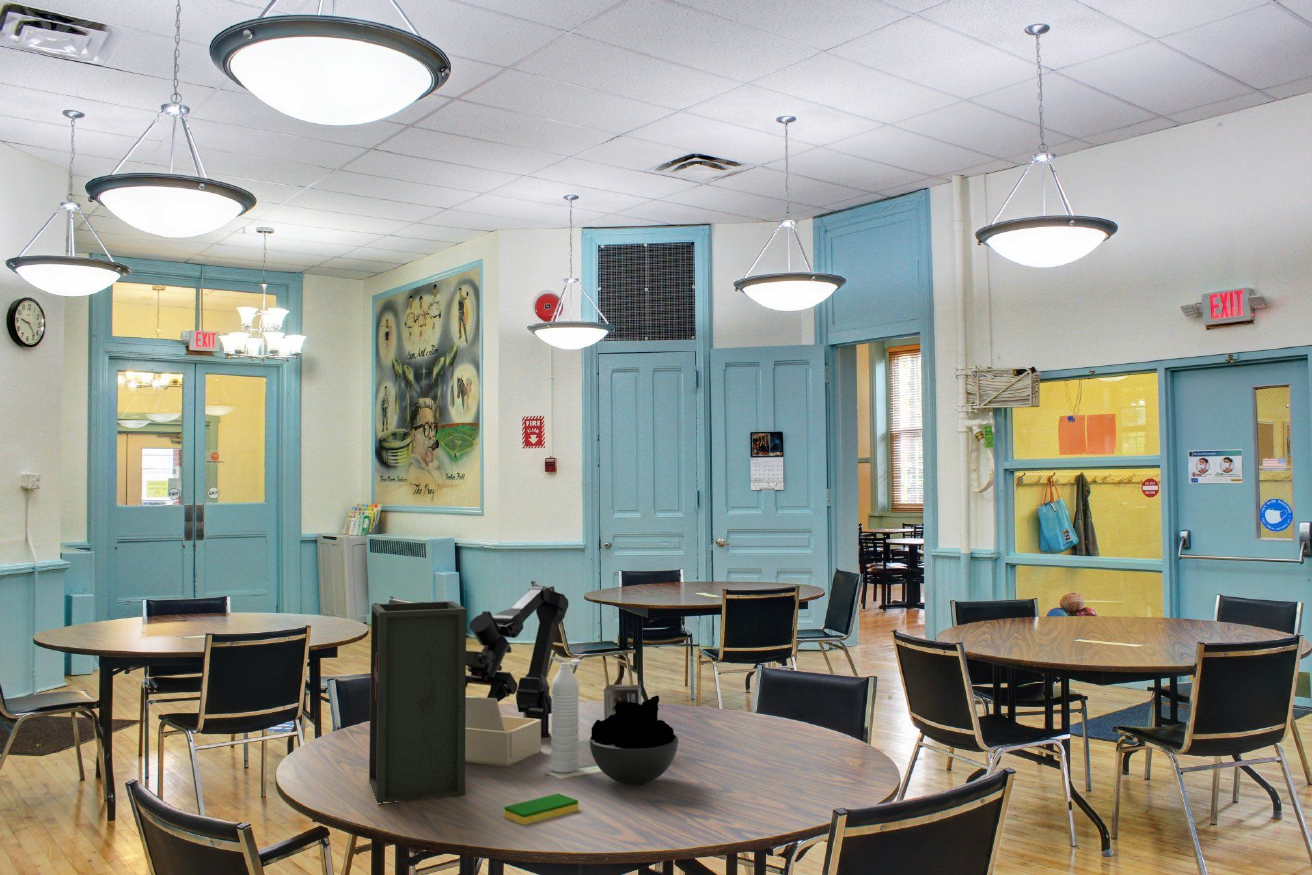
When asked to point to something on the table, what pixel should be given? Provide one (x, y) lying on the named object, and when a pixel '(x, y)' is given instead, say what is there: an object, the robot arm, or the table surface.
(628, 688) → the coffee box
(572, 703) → the water bottle
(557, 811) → the dish sponge
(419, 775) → the dark green square bin
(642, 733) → the bowl of black rocks
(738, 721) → the table surface
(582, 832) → the table surface
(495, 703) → the far flap
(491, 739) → the carton
